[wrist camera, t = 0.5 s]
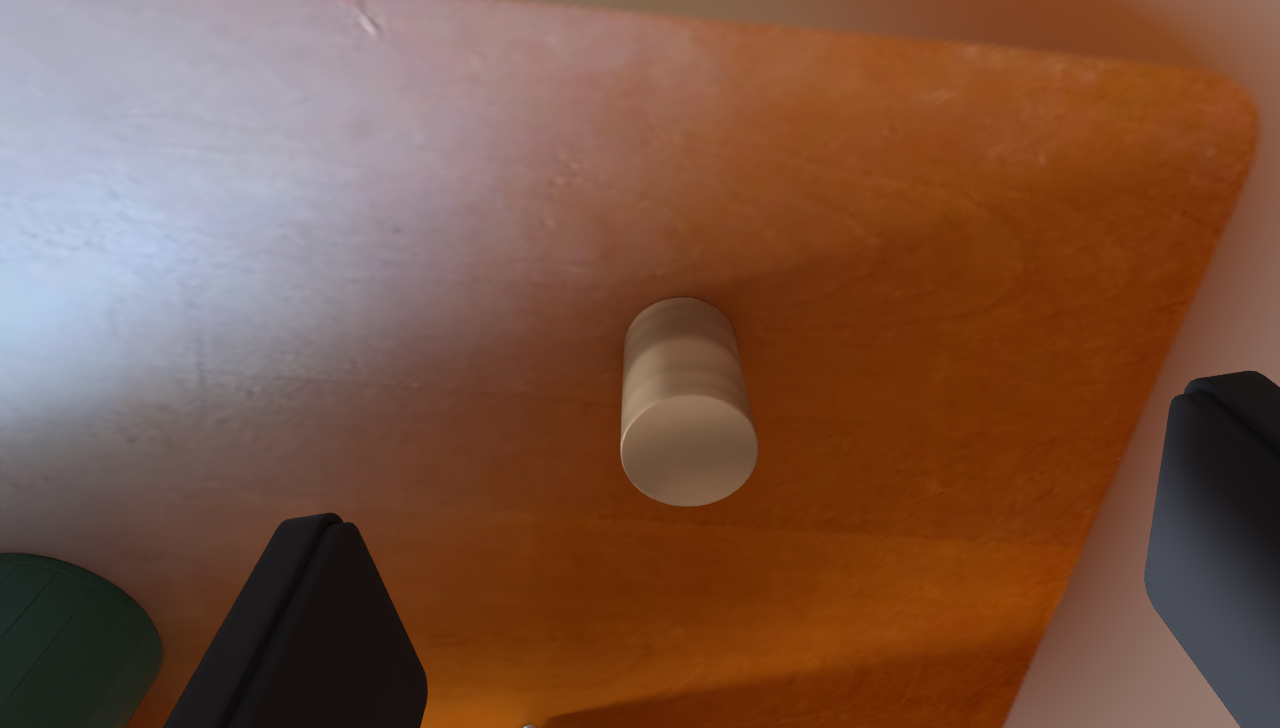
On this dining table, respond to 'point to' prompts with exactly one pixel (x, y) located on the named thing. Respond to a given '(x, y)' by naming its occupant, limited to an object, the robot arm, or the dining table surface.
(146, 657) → the green bottle
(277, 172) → the dining table surface
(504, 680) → the dining table surface
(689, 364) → the stopper
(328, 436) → the dining table surface
